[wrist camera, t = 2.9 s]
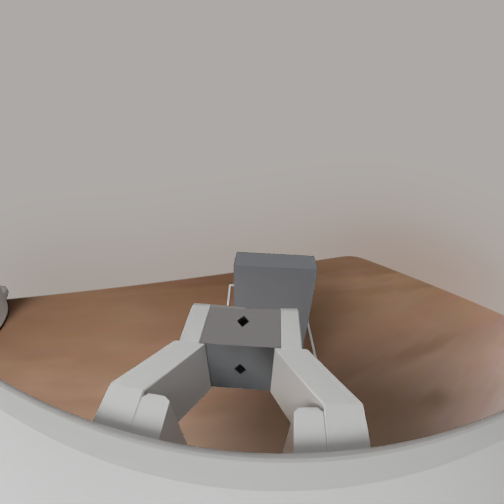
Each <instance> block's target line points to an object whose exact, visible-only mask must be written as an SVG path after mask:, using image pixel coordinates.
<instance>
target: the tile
mask: <svg viewBox="0 0 504 504" xmlns="http://www.w3.org/2000/svg"><path fill="white" fill-rule="evenodd" d="M316 275H317V266H316V262H315V258H314V256H302V255H284V254H264V253H246V252H237V254H236V258H235V262H234V306H235V307H246V308H270V309H280V308H297V309H298V310H299V319H300V329H301V340H302V349H303V345H304V340H305V335H306V330H307V325H308V320H309V315H310V309H311V304H312V298H313V293H314V287H315V281H316Z"/></svg>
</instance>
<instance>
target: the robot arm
mask: <svg viewBox="0 0 504 504" xmlns="http://www.w3.org/2000/svg"><path fill="white" fill-rule="evenodd" d="M7 296H8V290H7V288H6V287H5V286H0V327H1V325H2V324H3V322H4V320H5V318H6V316H7V312H8V304H7V300H6V299H7ZM211 386H212V387H226V388H242V389H254V390H268V391H270V392H271V394H272V395H273V397H274V398H275V400H276V402H277V403H278V405H279V406H280V408H281V409H282V411H283V412H284V414H285V415H286V417H287V418H288V420H289V421H290V423H291V424H290V427H289V431H288V435H287V438H286V441H285V445H284V448H283V453H255V452H240V451H229V450H219V449H211V448H203V447H196V446H190V445H187V443H186V440H185V438H184V436H183V433H182V431H181V429H180V426H179V424H178V422H179V421H180V420H181V419H182V418H183V417H184V416H185V415H186V414H187V413H188V412H189V411H190V410H191V409H192V408H193V407H194V406H195V405H196V404H197V403H198V401H199V400H200V399H201V398H202V397H203V396H204V395H205V394H206V393H207V392H208V391H209V390H210V389H211ZM0 504H504V410H503V411H501V412H498V413H496V414H494V415H491V416H489V417H486V418H484V419H481V420H478V421H476V422H473V423H470V424H467V425H464V426H461V427H458V428H455V429H452V430H448V431H445V432H441V433H438V434H434V435H430V436H427V437H423V438H418V439H414V440H410V441H405V442H400V443H395V444H389V445H383V446H377V447H371V444H370V439H369V433H368V428H367V423H366V417H365V412H364V408H363V403H362V402H361V401H360V400H358V399H357V398H356V397H355V396H354V395H353V394H352V393H351V392H350V391H349V390H348V389H347V388H346V387H345V386H344V385H343V384H342V383H341V382H340V381H339V380H338V379H337V378H336V377H335V376H334V375H333V374H332V373H331V372H330V371H329V370H328V369H327V368H326V367H325V366H324V365H323V364H322V363H321V362H320V361H319V360H318V359H317V358H316V357H315V356H314V355H313V354H312V353H311V352H310V351H309V350H308V349H302V340H301V329H300V319H299V310H298V309H297V308H280V309H270V308H246V307H235V306H224V305H210V304H199V303H195V304H194V305H193V306H192V308H191V310H190V313H189V316H188V318H187V321H186V324H185V327H184V329H183V332H182V335H181V338H180V340H179V341H173V342H171V343H170V344H168V345H167V346H166V347H164V348H163V349H161V350H160V351H158V352H157V353H155V354H154V355H152V356H151V357H149V358H148V359H146V360H145V361H143V362H142V363H140V364H139V365H137V366H136V367H134V368H133V369H131V370H130V371H128V372H127V373H125V374H124V375H122V376H121V377H119V378H118V379H116V380H115V381H113V382H111V384H110V386H109V388H108V390H107V392H106V394H105V396H104V398H103V400H102V403H101V405H100V407H99V409H98V411H97V413H96V416H95V418H94V420H93V421H91V420H88V419H85V418H82V417H80V416H77V415H74V414H72V413H69V412H67V411H64V410H62V409H59V408H57V407H55V406H52V405H50V404H48V403H46V402H43V401H41V400H39V399H37V398H35V397H33V396H31V395H29V394H27V393H25V392H23V391H21V390H19V389H17V388H15V387H13V386H11V385H10V384H8V383H6V382H4V381H3V380H1V379H0Z"/></svg>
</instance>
